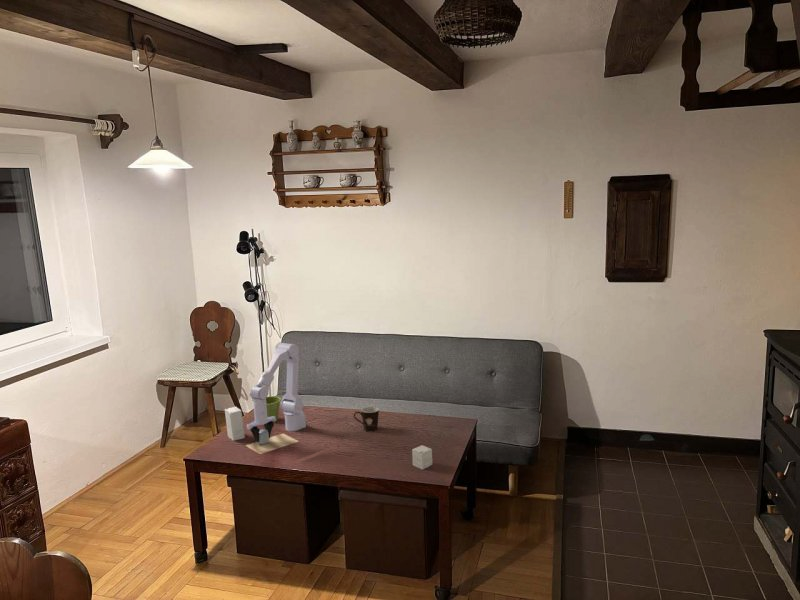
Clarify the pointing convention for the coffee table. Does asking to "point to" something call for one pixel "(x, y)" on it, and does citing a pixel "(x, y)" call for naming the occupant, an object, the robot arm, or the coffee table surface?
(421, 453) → the skincare box
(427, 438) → the coffee table surface
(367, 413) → the coffee mug
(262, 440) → the cap
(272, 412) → the plant pot
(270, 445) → the board
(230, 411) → the skincare box
